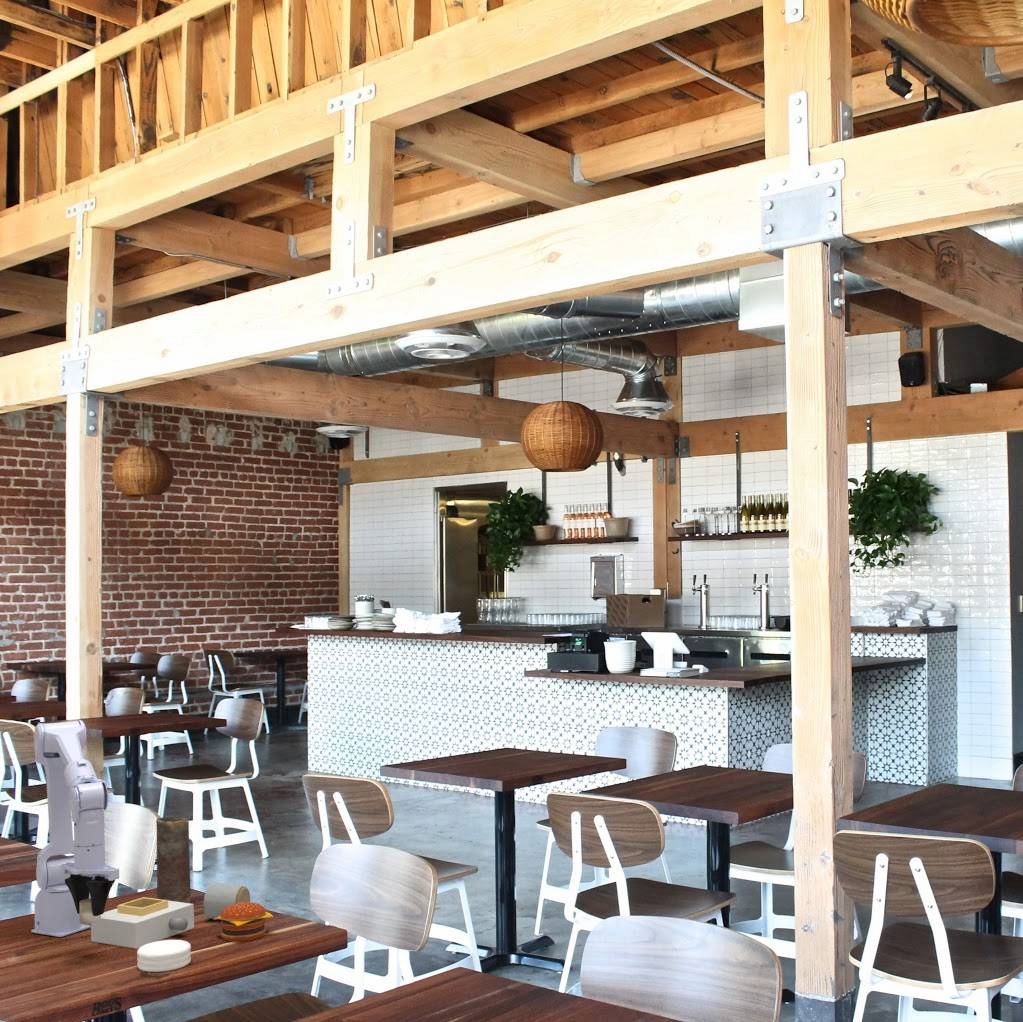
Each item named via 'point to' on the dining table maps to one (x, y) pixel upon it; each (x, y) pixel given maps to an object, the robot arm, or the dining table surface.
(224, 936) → the hamburger
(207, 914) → the ceramic mug
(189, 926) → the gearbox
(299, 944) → the dining table surface
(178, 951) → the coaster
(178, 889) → the brown paper bag
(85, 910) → the cylinder
